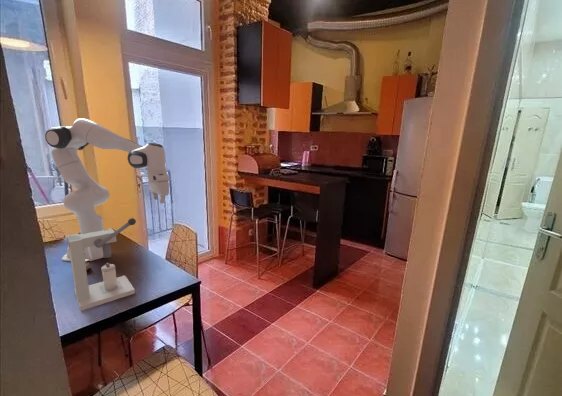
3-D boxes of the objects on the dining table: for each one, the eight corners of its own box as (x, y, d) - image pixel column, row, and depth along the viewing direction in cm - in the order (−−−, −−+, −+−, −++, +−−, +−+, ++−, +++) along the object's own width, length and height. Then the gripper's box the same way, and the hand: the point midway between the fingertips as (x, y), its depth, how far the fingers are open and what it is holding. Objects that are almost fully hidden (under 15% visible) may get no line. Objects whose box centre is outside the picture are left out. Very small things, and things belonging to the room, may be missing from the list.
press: (133, 276, 140) (126, 210, 132) (143, 290, 128) (137, 219, 121) (75, 293, 125) (63, 219, 117) (80, 310, 113) (68, 230, 105)
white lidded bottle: (101, 290, 124) (98, 266, 121) (108, 284, 129) (104, 260, 126) (114, 290, 124) (110, 266, 121) (120, 283, 129) (116, 260, 126)
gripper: (144, 173, 152) (146, 198, 155) (157, 178, 137) (159, 206, 140) (156, 172, 156) (158, 196, 159) (170, 177, 141) (172, 204, 145)
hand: (159, 201), depth 150 cm, fingers open, 8 cm apart
